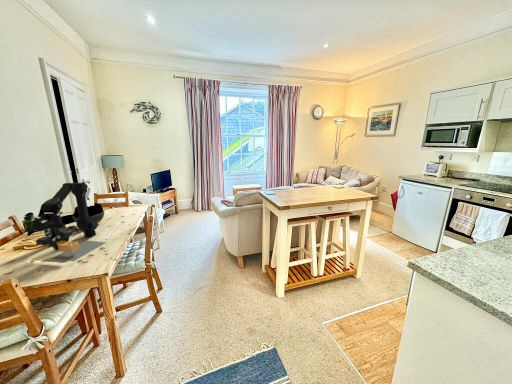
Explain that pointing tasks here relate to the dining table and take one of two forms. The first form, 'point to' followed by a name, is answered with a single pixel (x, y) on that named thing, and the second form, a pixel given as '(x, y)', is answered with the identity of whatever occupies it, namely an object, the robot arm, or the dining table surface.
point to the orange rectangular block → (67, 246)
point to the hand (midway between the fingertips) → (61, 248)
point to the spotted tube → (50, 235)
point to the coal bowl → (91, 213)
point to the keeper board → (79, 251)
